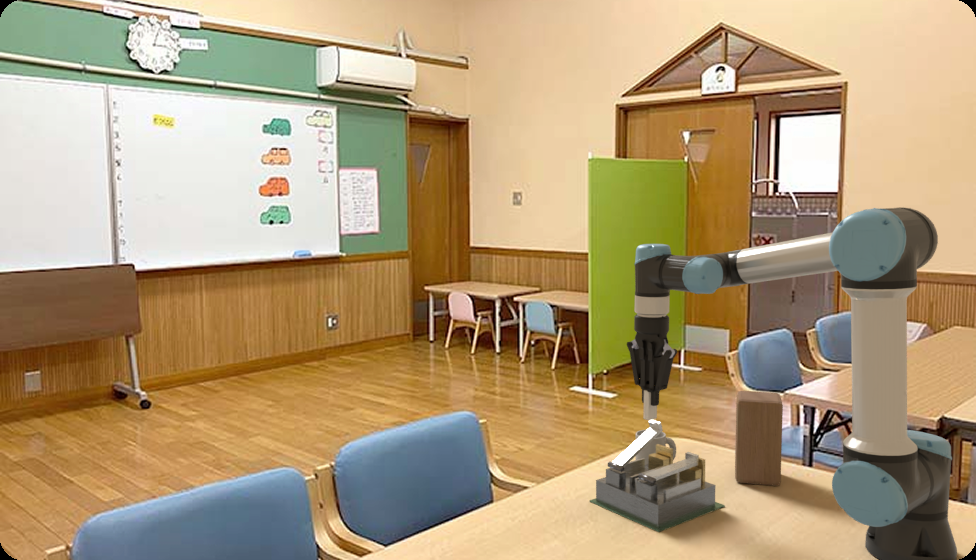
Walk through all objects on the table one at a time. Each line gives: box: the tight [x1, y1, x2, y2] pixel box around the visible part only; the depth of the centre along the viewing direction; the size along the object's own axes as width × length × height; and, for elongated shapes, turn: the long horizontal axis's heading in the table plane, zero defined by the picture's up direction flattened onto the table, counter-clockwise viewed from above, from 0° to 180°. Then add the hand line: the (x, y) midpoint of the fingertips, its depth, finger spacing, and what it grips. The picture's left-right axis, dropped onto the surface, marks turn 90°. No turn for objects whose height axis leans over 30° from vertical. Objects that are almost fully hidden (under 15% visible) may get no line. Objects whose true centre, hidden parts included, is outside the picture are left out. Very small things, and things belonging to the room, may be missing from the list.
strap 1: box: [638, 451, 700, 484], centre depth 168 cm, size 4×15×2 cm, turn 126°
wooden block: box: [734, 390, 784, 487], centre depth 187 cm, size 10×10×20 cm
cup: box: [635, 429, 677, 465], centre depth 194 cm, size 7×10×9 cm
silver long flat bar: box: [607, 419, 664, 472], centre depth 174 cm, size 4×15×2 cm, turn 126°
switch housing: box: [589, 444, 726, 533], centre depth 172 cm, size 20×21×10 cm
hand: (650, 418), depth 177 cm, fingers closed
